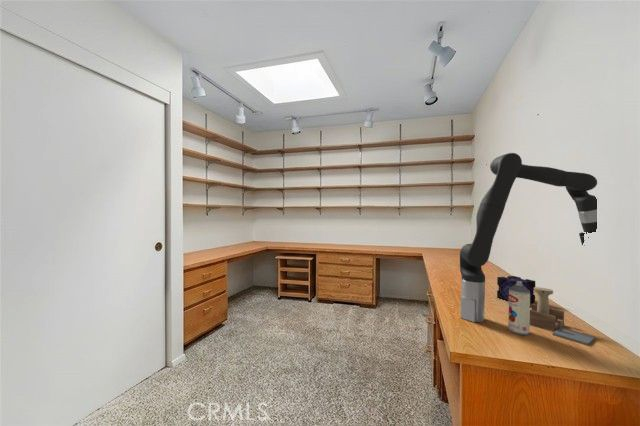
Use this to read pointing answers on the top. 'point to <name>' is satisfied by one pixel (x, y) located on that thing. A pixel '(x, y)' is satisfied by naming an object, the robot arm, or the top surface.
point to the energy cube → (509, 282)
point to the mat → (574, 336)
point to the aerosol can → (519, 309)
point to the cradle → (547, 319)
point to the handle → (543, 299)
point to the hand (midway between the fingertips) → (604, 256)
